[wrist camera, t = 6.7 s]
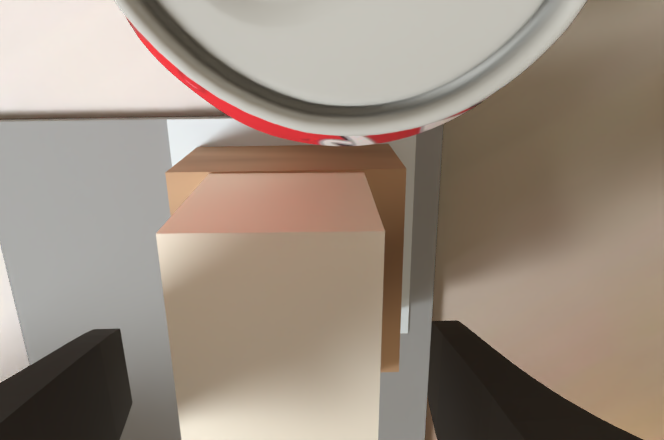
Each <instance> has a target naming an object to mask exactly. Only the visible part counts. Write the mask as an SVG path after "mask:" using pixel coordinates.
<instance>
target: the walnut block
mask: <svg viewBox="0 0 664 440" xmlns="http://www.w3.org/2000/svg"><path fill="white" fill-rule="evenodd" d="M332 172H364V173H365V176H366V179H367V182H368V185H369V187H370V190H371V193H372V196H373V199H374V202H375V204H376V207H377V210H378V213H379V216H380V219H381V221H382V224H383V227H384V230H385V247H384V277H383V307H382V338H381V368H380V372H399V356H400V329H401V302H402V274H403V247H404V220H405V193H406V167H405V166H404V164H403V163H402V162H401V160H400V159H399V158H398V156H397V155H396V153H395V152H394V151H393V149H392V148H391V146H390V145H389V144H372V145H363V146H324V145H287V146H224V147H197V148H195V149H194V150H193V151H192V152H190V153H189V154H188V155H187V156H185V157H184V158H183V159H182V160H180V161H179V162H178V163H177V164H175V165H174V166H173V167H172V168H170V169H169V170H168V171H167V172H165V175H166V183H167V191H168V199H169V207H170V215H171V216H172V215H173V214H174V213H175V212H176V210H177V209H178V208H179V207H180V206H181V205H182V204H183V203H184V201H185V200H186V199H187V198H188V197H189V196H190V195H191V194H192V192H193V191H194V190H195V189H196V188H197V187H198V186H199V185H200V183H201V182H202V181H203V180H204V179H205V178H206V177H207V176H208V174H211V173H332Z"/></svg>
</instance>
